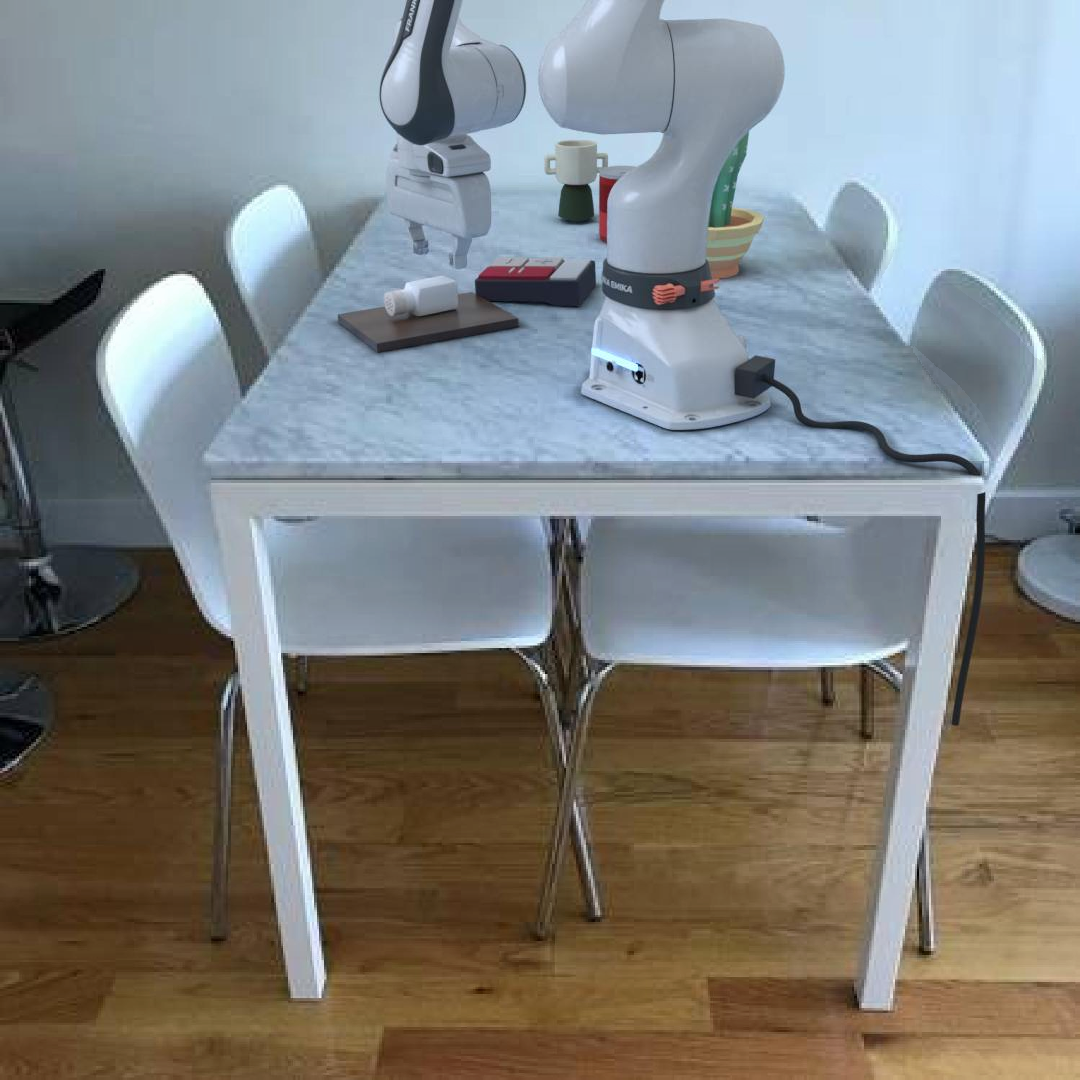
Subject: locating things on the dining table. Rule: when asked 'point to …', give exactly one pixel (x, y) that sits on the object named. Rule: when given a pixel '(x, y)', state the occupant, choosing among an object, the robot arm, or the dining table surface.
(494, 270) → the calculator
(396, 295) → the pepper shaker
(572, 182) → the trophy
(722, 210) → the potted cactus
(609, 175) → the canned food
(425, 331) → the board
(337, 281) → the dining table surface
